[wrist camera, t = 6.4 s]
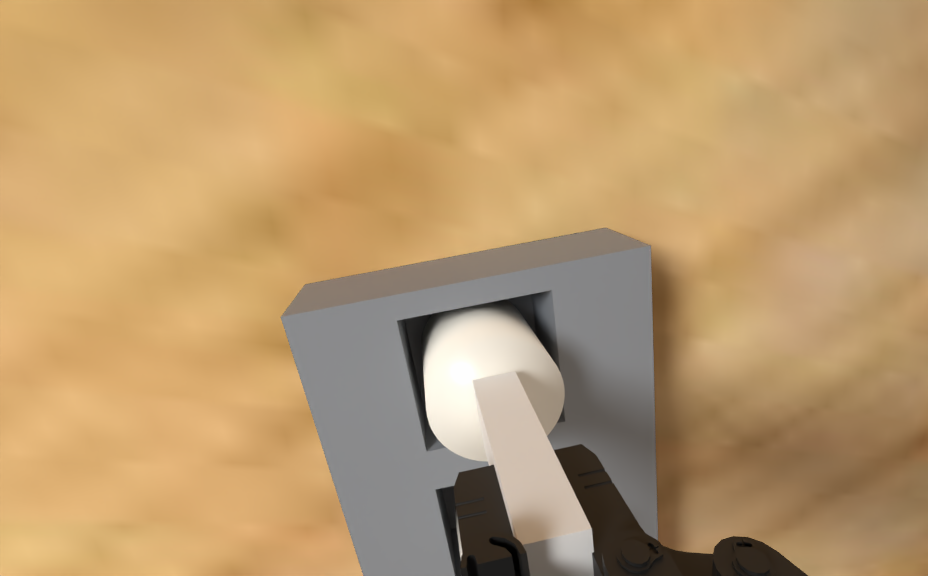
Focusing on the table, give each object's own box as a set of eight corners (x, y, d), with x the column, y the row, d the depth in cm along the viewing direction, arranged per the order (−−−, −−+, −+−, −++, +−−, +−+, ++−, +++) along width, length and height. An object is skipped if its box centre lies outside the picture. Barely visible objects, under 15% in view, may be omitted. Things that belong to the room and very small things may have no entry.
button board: (305, 284, 20) (280, 317, 16) (605, 227, 20) (650, 245, 17) (411, 647, 27) (412, 727, 23) (626, 593, 28) (660, 662, 24)
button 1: (411, 304, 19) (413, 356, 14) (521, 282, 20) (559, 326, 15) (432, 400, 21) (439, 477, 16) (533, 379, 21) (571, 447, 16)
